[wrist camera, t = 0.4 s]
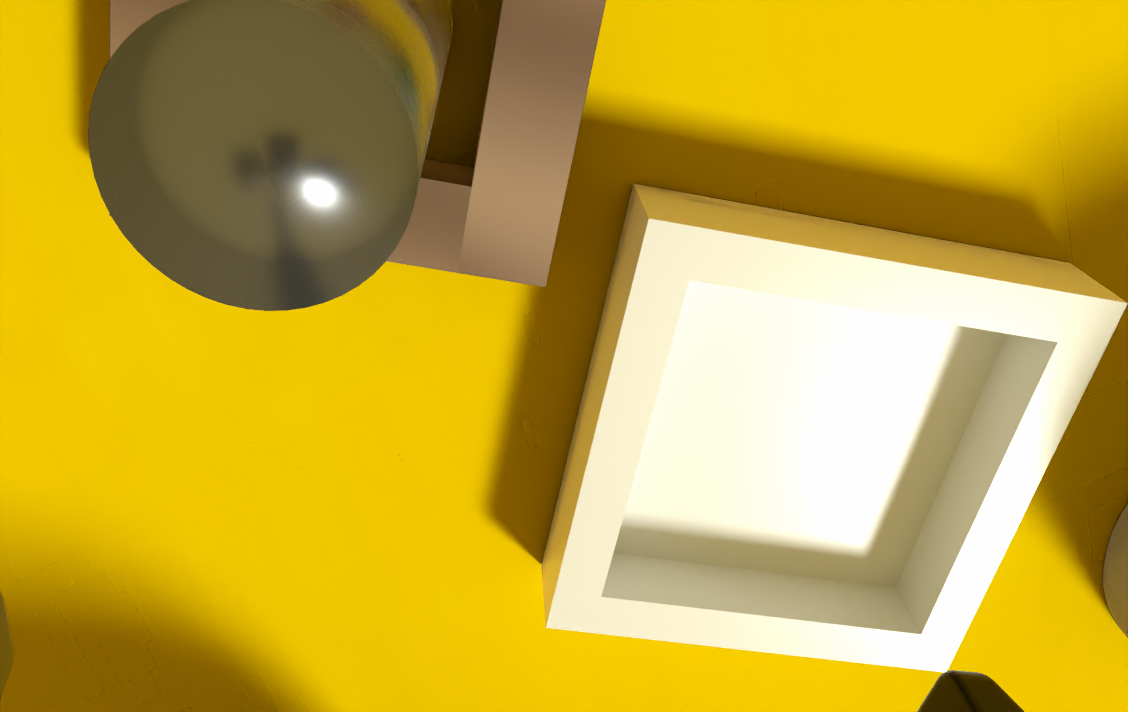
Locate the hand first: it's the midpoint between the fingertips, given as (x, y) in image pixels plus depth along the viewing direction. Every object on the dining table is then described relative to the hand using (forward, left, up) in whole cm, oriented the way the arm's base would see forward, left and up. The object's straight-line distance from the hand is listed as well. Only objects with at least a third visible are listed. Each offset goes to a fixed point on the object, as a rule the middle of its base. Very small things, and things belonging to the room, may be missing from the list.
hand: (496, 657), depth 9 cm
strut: (+3, +3, -15) cm, 16 cm away
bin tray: (-5, -9, -15) cm, 18 cm away
